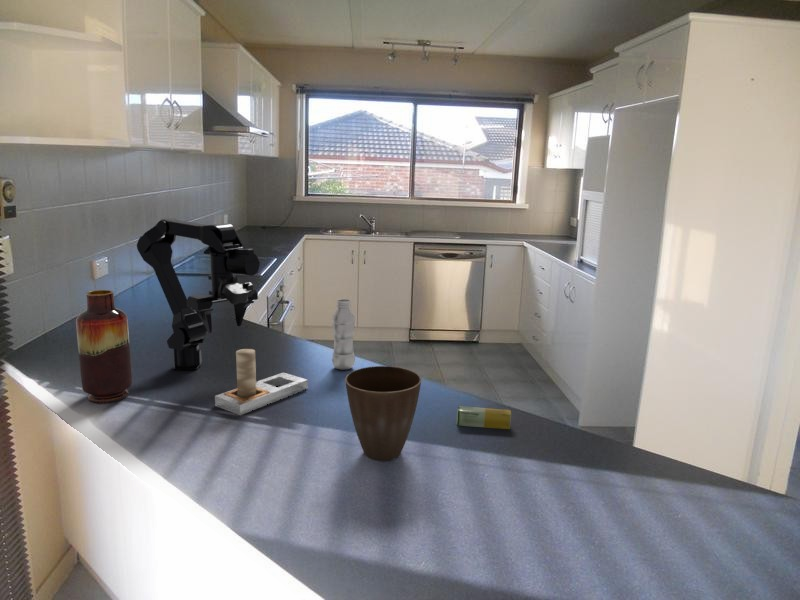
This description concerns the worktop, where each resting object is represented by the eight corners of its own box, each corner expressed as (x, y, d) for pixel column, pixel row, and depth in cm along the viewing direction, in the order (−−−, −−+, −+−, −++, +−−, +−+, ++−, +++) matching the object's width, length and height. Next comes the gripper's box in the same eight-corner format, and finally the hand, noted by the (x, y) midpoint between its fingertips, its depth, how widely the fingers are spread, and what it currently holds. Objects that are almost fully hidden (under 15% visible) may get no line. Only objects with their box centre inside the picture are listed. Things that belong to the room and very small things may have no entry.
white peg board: (240, 415, 138) (239, 404, 137) (215, 405, 143) (214, 395, 142) (307, 388, 155) (307, 379, 155) (283, 381, 160) (283, 371, 160)
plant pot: (392, 479, 111) (394, 397, 108) (329, 457, 119) (329, 381, 115) (432, 449, 123) (434, 375, 120) (372, 431, 131) (373, 361, 128)
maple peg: (236, 406, 142) (234, 354, 140) (239, 399, 147) (237, 349, 144) (255, 406, 143) (254, 354, 140) (257, 399, 147) (256, 348, 145)
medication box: (456, 426, 135) (457, 410, 134) (456, 421, 138) (457, 405, 137) (510, 430, 134) (511, 413, 133) (509, 425, 136) (510, 409, 135)
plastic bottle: (359, 366, 173) (359, 299, 169) (347, 373, 167) (347, 304, 163) (339, 363, 176) (339, 297, 172) (327, 370, 170) (327, 301, 166)
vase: (83, 408, 140) (72, 298, 134) (83, 392, 149) (73, 289, 144) (134, 400, 145) (127, 295, 139) (131, 386, 154) (124, 286, 149)
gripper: (209, 280, 146) (212, 342, 149) (270, 271, 160) (271, 328, 163) (183, 274, 152) (187, 334, 156) (244, 266, 167) (246, 321, 170)
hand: (224, 329), depth 161 cm, fingers open, 9 cm apart
